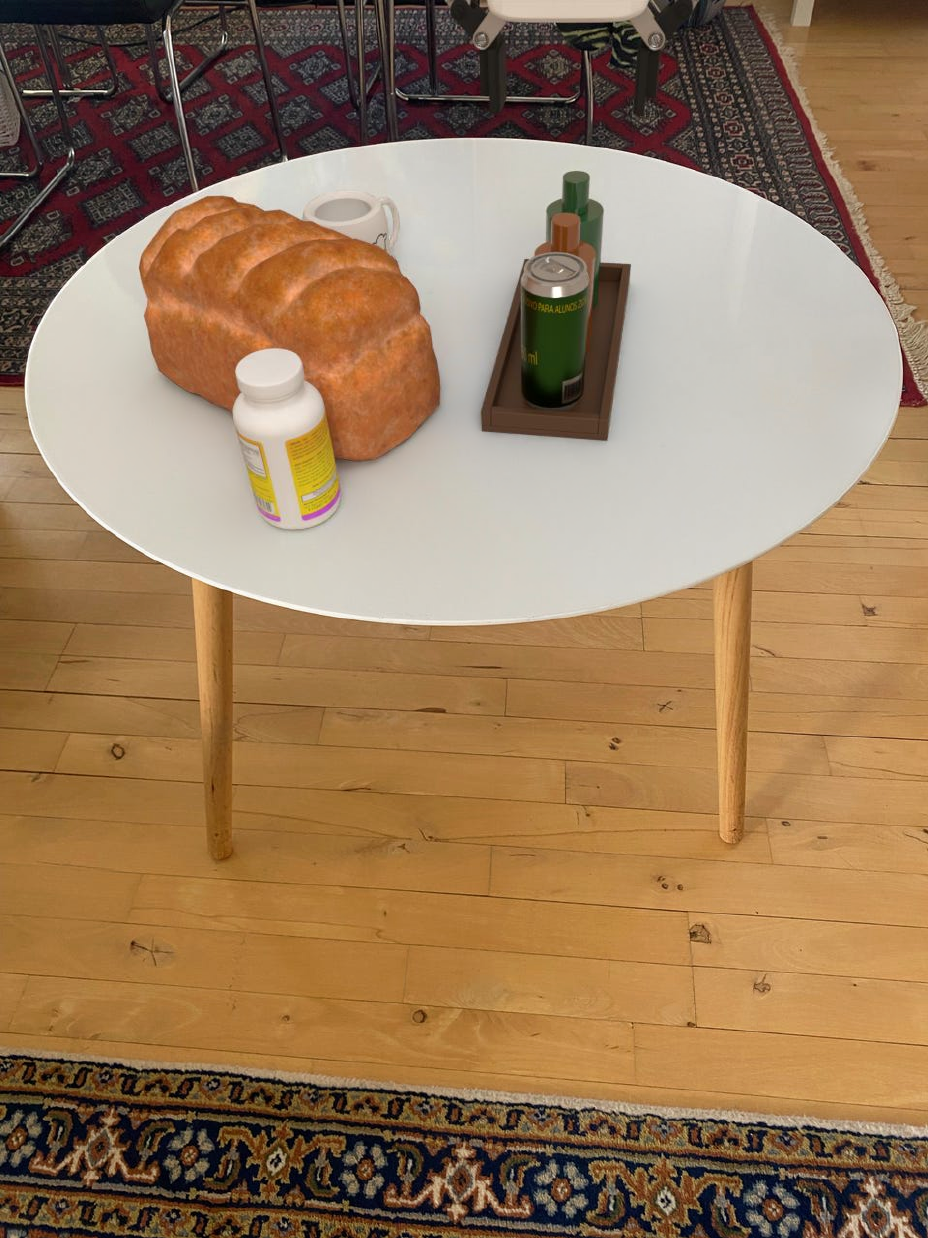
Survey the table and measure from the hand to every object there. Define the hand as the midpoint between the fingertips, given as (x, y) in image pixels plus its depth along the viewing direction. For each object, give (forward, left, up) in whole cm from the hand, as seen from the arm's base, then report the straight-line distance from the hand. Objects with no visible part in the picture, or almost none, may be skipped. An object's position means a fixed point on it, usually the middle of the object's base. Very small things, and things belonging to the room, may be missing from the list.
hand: (568, 107), depth 67 cm
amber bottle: (+1, -9, -24) cm, 26 cm away
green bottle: (+1, -17, -24) cm, 29 cm away
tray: (+1, -9, -25) cm, 26 cm away
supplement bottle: (+19, +15, -25) cm, 35 cm away
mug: (+23, -21, -25) cm, 40 cm away
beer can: (+1, -1, -24) cm, 24 cm away
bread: (+24, 0, -25) cm, 34 cm away
